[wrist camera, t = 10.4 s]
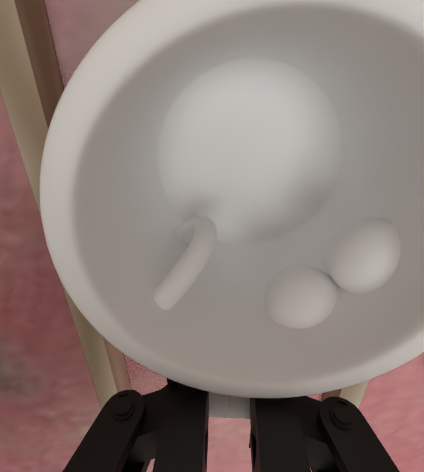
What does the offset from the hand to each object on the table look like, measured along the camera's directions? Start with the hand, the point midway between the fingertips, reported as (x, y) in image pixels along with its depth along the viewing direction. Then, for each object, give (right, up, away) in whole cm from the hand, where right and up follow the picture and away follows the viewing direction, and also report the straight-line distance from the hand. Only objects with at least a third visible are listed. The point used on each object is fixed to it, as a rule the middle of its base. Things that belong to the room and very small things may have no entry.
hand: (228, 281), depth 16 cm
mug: (0, +6, -1) cm, 6 cm away
